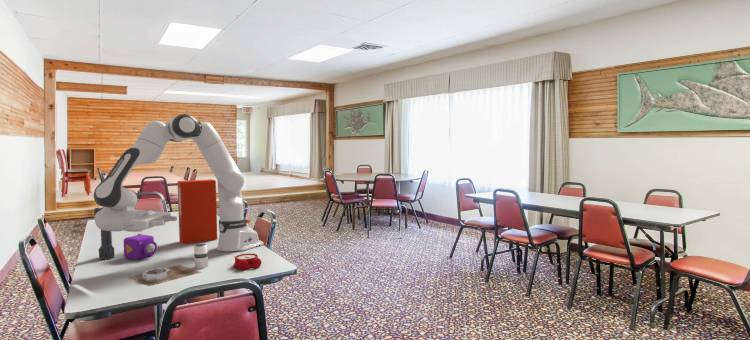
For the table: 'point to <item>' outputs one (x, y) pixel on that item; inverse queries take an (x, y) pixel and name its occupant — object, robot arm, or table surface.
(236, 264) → the alarm clock
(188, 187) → the file binder
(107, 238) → the flashlight
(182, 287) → the table surface
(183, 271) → the walnut mount plate
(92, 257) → the table surface
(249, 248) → the robot arm
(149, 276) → the ring
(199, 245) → the white lens
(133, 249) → the toy camera
